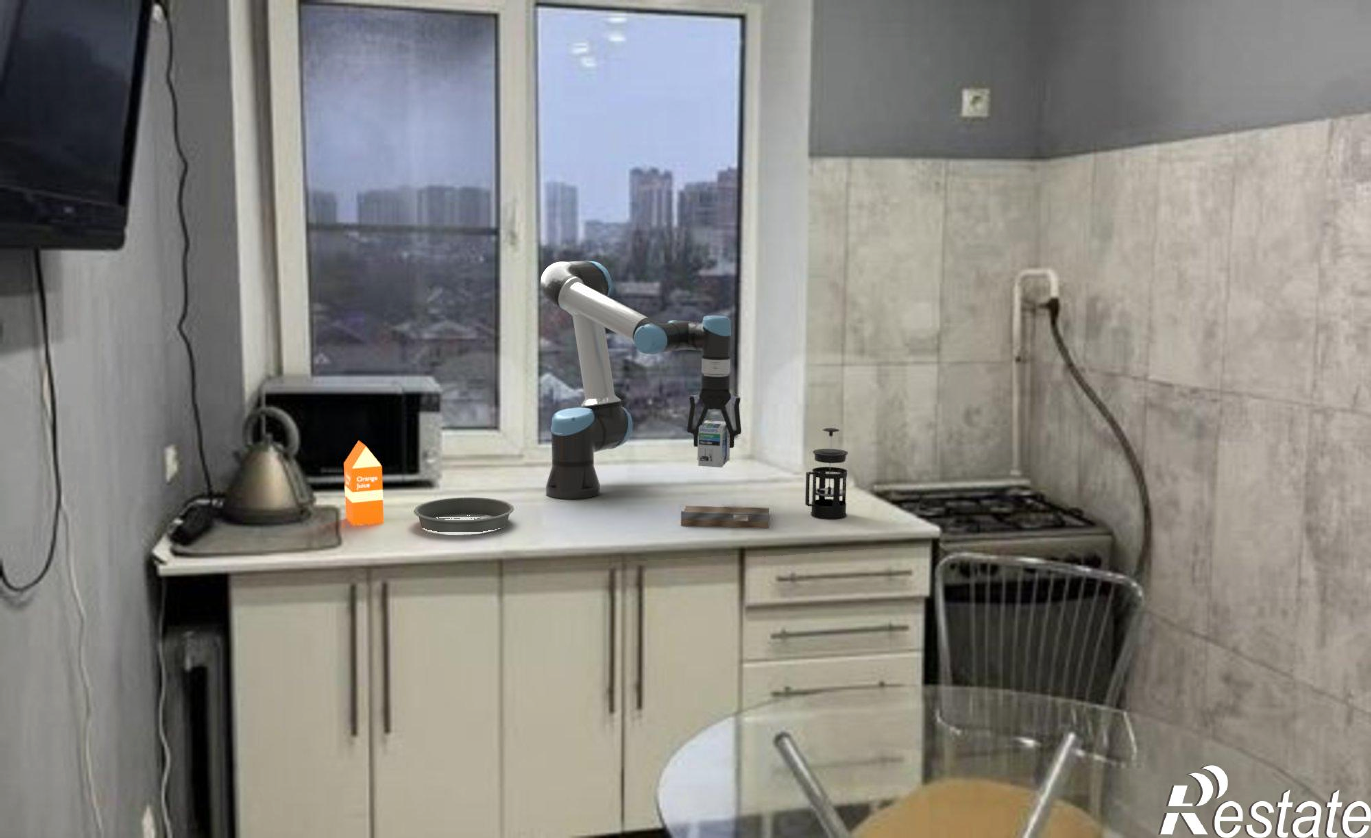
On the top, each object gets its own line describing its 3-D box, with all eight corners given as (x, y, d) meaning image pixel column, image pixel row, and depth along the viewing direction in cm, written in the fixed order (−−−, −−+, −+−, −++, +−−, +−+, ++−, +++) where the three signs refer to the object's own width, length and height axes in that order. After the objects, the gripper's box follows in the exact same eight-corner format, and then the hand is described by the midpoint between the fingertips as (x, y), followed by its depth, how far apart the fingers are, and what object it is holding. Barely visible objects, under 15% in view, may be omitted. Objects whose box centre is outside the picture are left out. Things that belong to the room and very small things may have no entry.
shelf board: (680, 525, 297) (680, 512, 297) (685, 511, 312) (685, 498, 312) (768, 528, 296) (768, 514, 295) (769, 513, 311) (769, 500, 310)
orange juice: (353, 526, 294) (349, 447, 291) (345, 518, 302) (342, 441, 299) (384, 522, 298) (381, 444, 295) (376, 514, 306) (373, 438, 302)
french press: (839, 509, 316) (841, 424, 312) (855, 517, 307) (858, 430, 303) (798, 512, 312) (800, 426, 308) (813, 521, 303) (816, 432, 300)
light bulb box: (722, 468, 312) (723, 428, 310) (697, 466, 314) (698, 426, 312) (728, 460, 323) (730, 421, 321) (704, 458, 324) (705, 419, 322)
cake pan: (471, 543, 281) (471, 525, 280) (393, 529, 292) (392, 511, 292) (533, 521, 302) (533, 504, 301) (458, 509, 314) (458, 492, 313)
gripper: (676, 375, 311) (675, 460, 315) (753, 377, 309) (750, 463, 313) (679, 371, 318) (677, 455, 322) (753, 373, 317) (751, 457, 321)
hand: (713, 459), depth 318 cm, fingers closed on light bulb box, 7 cm apart
